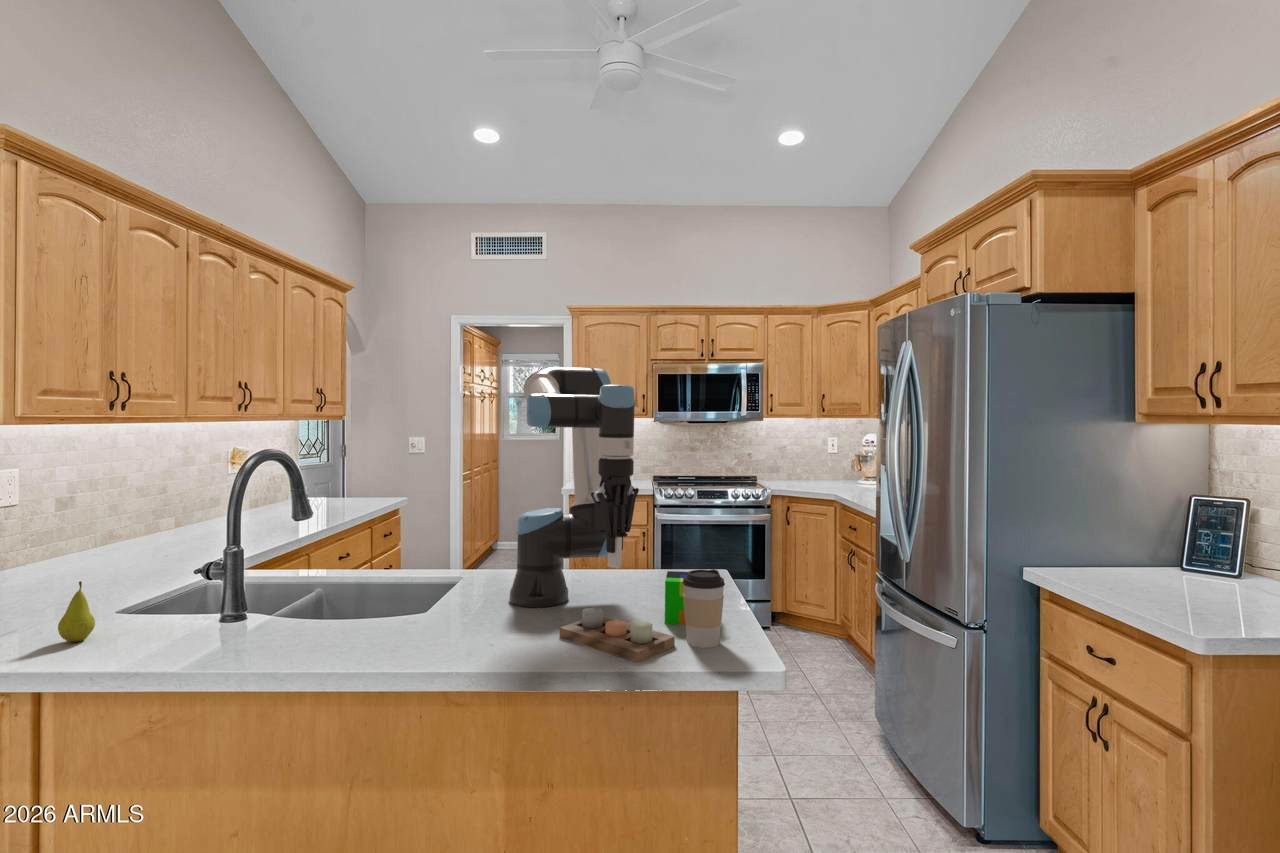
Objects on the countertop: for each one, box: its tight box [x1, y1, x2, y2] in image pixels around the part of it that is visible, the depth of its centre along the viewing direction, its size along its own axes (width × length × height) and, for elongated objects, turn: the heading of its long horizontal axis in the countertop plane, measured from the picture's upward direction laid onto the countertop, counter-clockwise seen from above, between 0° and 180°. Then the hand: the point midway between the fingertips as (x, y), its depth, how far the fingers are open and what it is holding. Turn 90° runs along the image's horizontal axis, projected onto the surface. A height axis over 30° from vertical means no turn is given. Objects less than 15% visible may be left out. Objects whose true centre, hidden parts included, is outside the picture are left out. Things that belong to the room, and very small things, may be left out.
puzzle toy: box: [664, 570, 689, 626], centre depth 149 cm, size 10×10×10 cm
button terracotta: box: [605, 619, 628, 638], centre depth 133 cm, size 4×4×3 cm
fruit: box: [57, 580, 96, 643], centre depth 129 cm, size 6×6×12 cm
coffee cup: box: [682, 568, 726, 649], centre depth 133 cm, size 9×9×15 cm
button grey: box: [581, 607, 604, 630], centre depth 138 cm, size 4×4×3 cm
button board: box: [559, 615, 676, 663], centre depth 133 cm, size 22×12×2 cm, turn 50°
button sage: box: [630, 620, 654, 646], centre depth 129 cm, size 4×4×3 cm
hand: (614, 566), depth 135 cm, fingers closed
